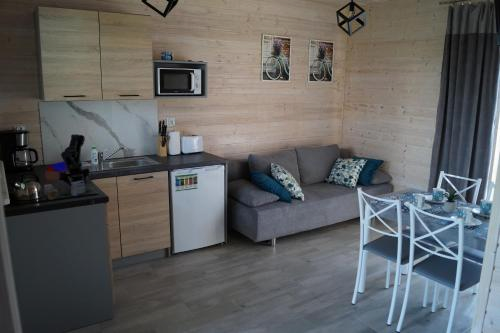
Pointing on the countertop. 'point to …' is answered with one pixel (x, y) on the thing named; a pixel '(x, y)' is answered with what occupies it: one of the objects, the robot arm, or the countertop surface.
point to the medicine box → (78, 188)
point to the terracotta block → (47, 186)
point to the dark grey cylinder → (48, 189)
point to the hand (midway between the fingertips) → (78, 184)
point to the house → (55, 171)
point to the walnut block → (53, 194)
